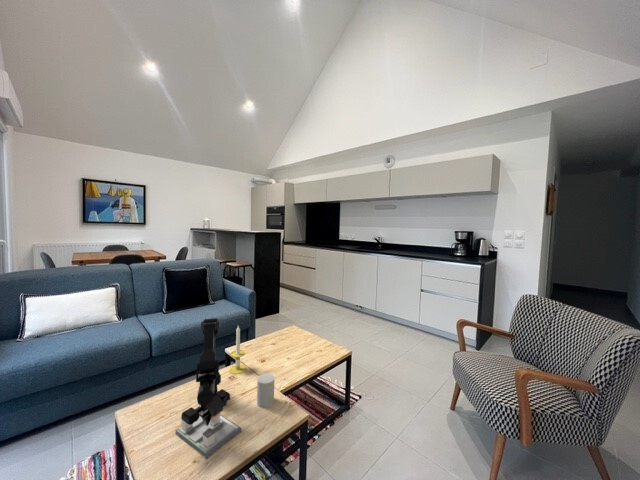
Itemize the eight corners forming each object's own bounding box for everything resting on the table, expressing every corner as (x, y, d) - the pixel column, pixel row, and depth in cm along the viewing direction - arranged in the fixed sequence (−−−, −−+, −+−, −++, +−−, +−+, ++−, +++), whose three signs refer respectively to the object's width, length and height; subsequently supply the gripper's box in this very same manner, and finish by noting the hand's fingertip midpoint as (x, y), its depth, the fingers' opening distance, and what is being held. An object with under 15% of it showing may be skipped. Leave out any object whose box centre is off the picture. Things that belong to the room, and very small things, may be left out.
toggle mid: (209, 422, 112) (209, 413, 112) (215, 418, 114) (215, 409, 114) (213, 425, 110) (213, 416, 110) (219, 421, 113) (219, 412, 113)
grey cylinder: (270, 409, 125) (270, 384, 124) (254, 406, 127) (254, 381, 126) (276, 398, 133) (276, 375, 132) (261, 395, 135) (261, 372, 134)
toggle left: (181, 427, 109) (181, 417, 109) (188, 422, 112) (188, 413, 111) (185, 430, 108) (185, 420, 107) (192, 425, 110) (192, 416, 110)
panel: (175, 433, 109) (175, 428, 109) (209, 411, 123) (209, 406, 122) (207, 458, 98) (207, 452, 98) (241, 431, 111) (241, 425, 111)
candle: (239, 363, 165) (239, 320, 164) (250, 368, 159) (250, 324, 158) (225, 370, 157) (225, 325, 155) (236, 376, 151) (236, 329, 150)
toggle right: (202, 443, 101) (202, 432, 101) (209, 438, 104) (209, 427, 104) (207, 446, 100) (207, 436, 100) (214, 441, 102) (214, 431, 102)
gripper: (197, 409, 96) (197, 450, 97) (238, 384, 112) (238, 419, 113) (180, 398, 102) (180, 436, 103) (221, 375, 118) (221, 409, 119)
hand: (207, 425), depth 109 cm, fingers closed
